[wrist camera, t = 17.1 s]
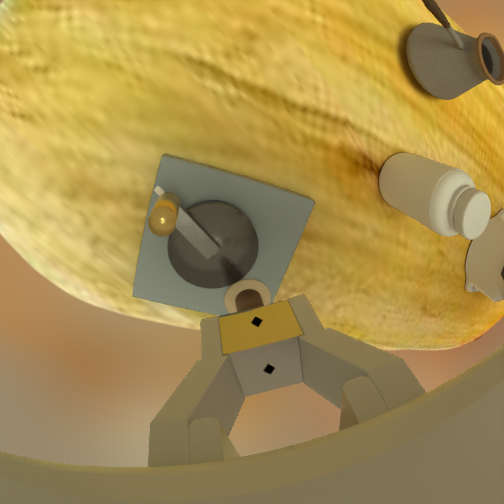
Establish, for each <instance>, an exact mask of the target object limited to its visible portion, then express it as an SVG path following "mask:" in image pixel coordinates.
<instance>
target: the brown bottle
mask: <svg viewBox="0 0 504 504" xmlns="http://www.w3.org/2000/svg"><path fill="white" fill-rule="evenodd" d="M235 304H236V309H237V312H239V311H243V310H248V309H252V308H257V307H261V306H264V304H263V301H262V298H261V295H260V293H259V292H258V291H256V290H253V289H246V290H243V291H241V292H240V293H238V295H237V296H236V299H235Z"/></svg>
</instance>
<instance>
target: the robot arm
mask: <svg viewBox="0 0 504 504" xmlns="http://www.w3.org/2000/svg"><path fill="white" fill-rule="evenodd" d="M465 270H466V277H467V279H466V284H465V290H467V291H468V292H478V291H481V292H482V293H483V294H485V295H486V296H487V297H488V298H490V299H491V300H492V301H494V302H496V301H501V300H504V209H502V210H501V211H500V212H499V213H498V214H497V215H496V216H495V217H493V218H491V219H489V221H488V224H487V226H486V228H485V230H484V231H483V233H482V234H481V235H480V236H479V237H477V238H475V239H473V241H472V243H471V245H470V248H469V251H468V254H467V258H466V266H465ZM200 326H201V349H202V350H201V352H202V360H200V361H196V363H195V364H194V366H193V367H192V368H191V370H190V371H189V372H188V374H187V375H186V376H185V378H184V379H183V381H182V382H181V383H180V385H179V386H178V387H177V389H176V390H175V391H174V393H173V394H172V395H171V397H170V398H169V399H168V401H167V402H166V403H165V405H164V406H163V407H162V409H161V410H160V411H159V413H158V414H157V415H156V417H155V418H154V419H153V420H152V422H151V423H150V437H149V457H148V467H98V466H84V465H73V464H64V463H56V462H50V461H42V460H37V459H32V458H27V457H21V456H17V455H13V454H8V453H4V452H0V504H504V344H503V345H502V346H501V347H499V348H498V349H497V350H495V351H494V352H492V353H491V354H489V355H488V356H487V357H485V358H484V359H482V360H481V361H479V362H478V363H476V364H475V365H473V366H472V367H470V368H469V369H467V370H466V371H464V372H462V373H461V374H459V375H457V376H456V377H454V378H452V379H451V380H449V381H447V382H445V383H444V384H442V385H440V386H439V387H436V388H435V389H433V390H431V391H429V392H427V393H426V392H425V390H424V389H423V387H422V386H421V385H420V383H419V382H418V380H417V379H416V377H415V376H414V374H413V373H412V372H411V370H410V369H409V367H408V366H407V364H406V363H405V362H404V360H403V359H402V358H400V357H398V356H395V355H393V354H390V353H388V352H385V351H383V350H381V349H378V348H376V347H374V346H371V345H369V344H366V343H364V342H362V341H359V340H357V339H355V338H352V337H350V336H348V335H345V334H343V333H341V332H339V331H336V330H334V329H332V328H326V329H324V327H323V326H322V324H321V322H320V320H319V318H318V317H317V315H316V313H315V311H314V309H313V308H312V306H311V304H310V302H309V301H308V299H307V297H306V295H304V294H302V295H299V296H296V297H292V298H289V299H287V300H284V301H280V302H277V303H273V304H269V305H265V306H261V307H257V308H252V309H248V310H243V311H239V312H234V313H230V314H225V315H220V316H216V317H212V318H207V319H202V320H201V323H200ZM301 382H304V384H306V385H307V386H309V387H310V388H311V389H313V390H314V391H316V392H317V393H318V394H320V395H321V396H323V397H324V398H325V399H327V400H328V401H330V402H331V403H333V404H334V405H335V406H337V407H338V408H340V409H341V416H340V426H339V431H337V432H335V433H332V434H329V435H326V436H322V437H319V438H316V439H313V440H310V441H306V442H303V443H299V444H296V445H292V446H288V447H284V448H281V449H276V450H272V451H268V452H263V453H259V454H254V455H249V456H244V457H240V455H239V454H238V452H237V451H236V449H235V447H234V446H233V444H232V442H231V441H230V439H229V437H228V436H229V433H230V431H231V429H232V427H233V425H234V423H235V420H236V418H237V416H238V414H239V411H240V409H241V407H242V404H243V402H244V400H245V397H246V396H250V395H254V394H258V393H262V392H265V391H269V390H273V389H276V388H281V387H285V386H289V385H293V384H297V383H301Z"/></svg>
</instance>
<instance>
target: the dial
mask: <svg viewBox="0 0 504 504" xmlns="http://www.w3.org/2000/svg"><path fill="white" fill-rule="evenodd" d="M148 227H149V229H150V231H151V232H152V233H153V234H155V235H157V236H161V237H164V236H168V235H169V239H168V246H167V249H168V256H169V260H170V263H171V265H172V267H173V268H174V270H175V271H176V273H177V274H178V275H179V276H180V277H181V278H183V279H184V280H185V281H187V282H188V283H190V284H192V285H195V286H198V287H202V288H208V289H216V288H223V287H227V286H230V285H232V284H234V283H236V282H238V281H239V280H241V279H242V278H243V277H245V276H246V275H247V274H248V273H249V271H250V270H251V269H252V267H253V265H254V264H255V262H256V259H257V256H258V250H259V242H258V237H257V233H256V231H255V228H254V226H253V224H252V222H251V220H250V219H249V217H248V216H247V215H246V214H245V213H244V212H243V211H242V210H241V209H240V208H238V207H237V206H235V205H233V204H231V203H228V202H225V201H220V200H207V201H202V202H198V203H195V204H193V205H191V206H189V207H188V208H185V207H184V206H183V205H182V204H181V203H180V199H179V197H178V196H177V195H176V194H175V193H173V192H165V193H163V194H161V195H160V197H159V198H158V200H157V202H156V204H155V206H154V208H153V210H152V212H151V214H150V216H149V218H148Z"/></svg>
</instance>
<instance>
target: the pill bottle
mask: <svg viewBox="0 0 504 504" xmlns="http://www.w3.org/2000/svg"><path fill="white" fill-rule="evenodd" d="M379 188H380V192H381V194H382V197H383V198H384V200H385V201H386V202H387V203H388V204H389V205H391V206H392V207H394V208H396V209H397V210H399V211H401V212H403V213H404V214H406V215H408V216H410V217H411V218H413V219H415V220H416V221H418V222H420V223H421V224H423V225H425V226H426V227H428V228H430V229H431V230H433V231H434V232H436V233H438V234H440V235H442V236H455V235H457V234H460V235H462V236H463V237H465V238H466V239H470V240H472V239H475V238H477V237H479V236H480V235H481V234H482V233H483V231H484V230H485V228H486V226H487V224H488V221H489V218H490V213H491V203H490V200H489V197H488V196H487V194H486V193H484V192H482V191H480V190H478V189H476V188H475V185H474V182H473V180H472V179H471V177H470V176H469V175H468V174H467V173H466V172H464V171H463V170H460V169H458V168H455V167H452V166H449V165H446V164H443V163H440V162H436V161H433V160H430V159H427V158H423V157H420V156H416V155H413V154H409V153H398V154H395V155H393V156H392V157H390V158H389V159H388V160H387V161H386V162H385V164H384V165H383V167H382V170H381V172H380V177H379Z"/></svg>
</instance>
